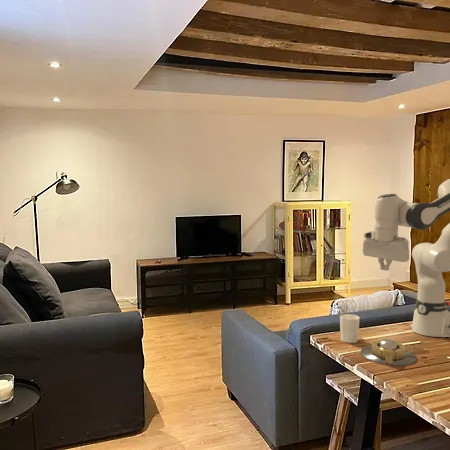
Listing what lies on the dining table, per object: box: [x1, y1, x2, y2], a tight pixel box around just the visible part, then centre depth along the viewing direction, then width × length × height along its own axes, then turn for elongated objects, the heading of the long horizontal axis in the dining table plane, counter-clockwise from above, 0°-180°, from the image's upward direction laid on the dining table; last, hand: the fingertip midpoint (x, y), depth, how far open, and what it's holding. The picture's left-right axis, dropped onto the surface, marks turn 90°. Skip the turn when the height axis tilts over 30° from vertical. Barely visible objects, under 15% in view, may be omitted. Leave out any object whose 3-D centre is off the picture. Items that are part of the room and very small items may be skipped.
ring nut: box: [371, 339, 407, 363], centre depth 174 cm, size 16×12×4 cm
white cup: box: [339, 313, 360, 344], centre depth 193 cm, size 8×8×10 cm
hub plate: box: [360, 338, 417, 367], centre depth 176 cm, size 20×20×5 cm
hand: (384, 270), depth 183 cm, fingers closed
